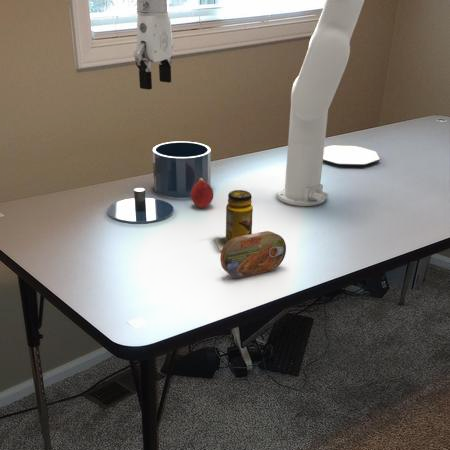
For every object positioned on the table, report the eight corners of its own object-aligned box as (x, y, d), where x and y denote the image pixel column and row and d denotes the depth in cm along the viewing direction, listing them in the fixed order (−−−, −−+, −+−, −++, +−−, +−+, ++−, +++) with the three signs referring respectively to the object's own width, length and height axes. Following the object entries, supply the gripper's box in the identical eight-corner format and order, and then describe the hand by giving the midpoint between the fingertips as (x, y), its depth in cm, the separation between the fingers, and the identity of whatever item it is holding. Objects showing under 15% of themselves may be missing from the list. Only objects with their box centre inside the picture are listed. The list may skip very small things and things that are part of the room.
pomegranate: (214, 205, 173) (214, 175, 168) (211, 213, 168) (211, 182, 163) (192, 204, 173) (192, 174, 168) (189, 212, 168) (188, 181, 164)
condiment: (256, 249, 151) (258, 197, 143) (220, 251, 149) (221, 200, 142) (248, 236, 156) (250, 186, 149) (213, 239, 155) (214, 189, 147)
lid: (186, 216, 166) (185, 192, 162) (129, 231, 158) (127, 206, 154) (151, 197, 176) (150, 174, 173) (96, 210, 168) (93, 186, 165)
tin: (224, 281, 137) (225, 243, 132) (217, 275, 139) (218, 238, 134) (285, 268, 142) (288, 231, 137) (278, 262, 145) (280, 226, 140)
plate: (382, 169, 201) (383, 164, 200) (319, 167, 201) (319, 162, 200) (372, 150, 216) (372, 146, 215) (313, 149, 216) (313, 144, 215)
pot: (221, 192, 181) (222, 151, 174) (174, 203, 173) (173, 161, 167) (189, 177, 191) (189, 138, 184) (144, 187, 183) (141, 147, 177)
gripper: (147, 11, 147) (151, 93, 158) (183, 4, 160) (185, 80, 170) (119, 9, 150) (124, 90, 160) (157, 2, 163) (160, 78, 173)
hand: (155, 85), depth 165 cm, fingers open, 9 cm apart
